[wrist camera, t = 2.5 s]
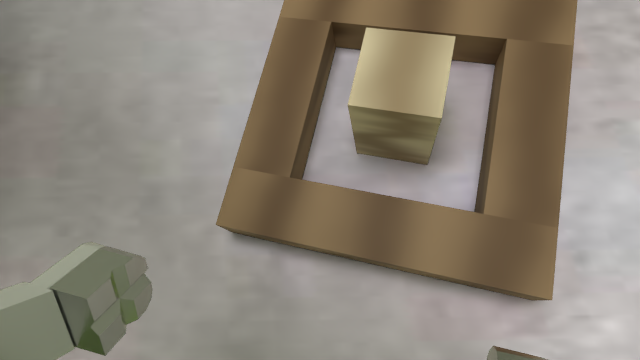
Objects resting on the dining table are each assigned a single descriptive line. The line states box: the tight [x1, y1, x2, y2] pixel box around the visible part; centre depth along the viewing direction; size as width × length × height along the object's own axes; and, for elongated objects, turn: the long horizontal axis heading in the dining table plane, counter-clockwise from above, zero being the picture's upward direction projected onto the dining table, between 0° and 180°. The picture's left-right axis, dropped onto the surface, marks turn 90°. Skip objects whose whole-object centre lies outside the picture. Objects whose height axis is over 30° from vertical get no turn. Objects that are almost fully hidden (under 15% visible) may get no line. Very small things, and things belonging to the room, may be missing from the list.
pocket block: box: [216, 0, 577, 300], centre depth 27 cm, size 20×20×3 cm
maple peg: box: [348, 28, 456, 165], centre depth 25 cm, size 5×5×8 cm
